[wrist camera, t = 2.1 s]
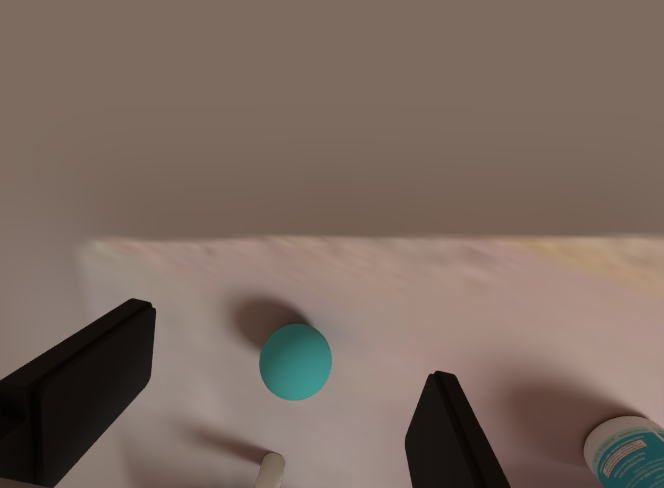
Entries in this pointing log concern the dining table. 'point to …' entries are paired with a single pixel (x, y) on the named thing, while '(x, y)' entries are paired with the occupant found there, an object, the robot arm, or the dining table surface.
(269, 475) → the pin
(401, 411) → the dining table surface
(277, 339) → the ball
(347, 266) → the dining table surface
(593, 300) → the dining table surface
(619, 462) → the pill bottle
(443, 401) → the robot arm
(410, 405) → the dining table surface
